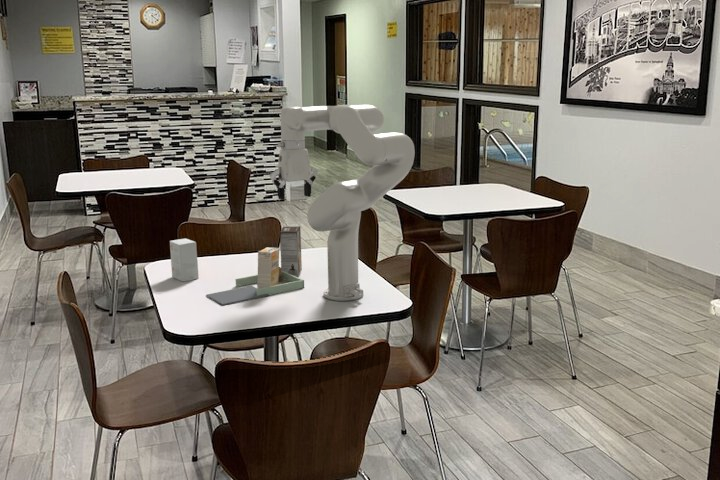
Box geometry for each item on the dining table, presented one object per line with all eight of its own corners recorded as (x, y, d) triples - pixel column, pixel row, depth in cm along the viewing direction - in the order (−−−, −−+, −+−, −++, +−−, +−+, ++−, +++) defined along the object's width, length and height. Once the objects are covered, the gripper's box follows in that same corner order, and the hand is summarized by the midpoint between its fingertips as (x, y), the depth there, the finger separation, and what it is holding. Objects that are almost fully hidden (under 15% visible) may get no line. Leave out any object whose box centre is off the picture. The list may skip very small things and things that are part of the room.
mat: (269, 295, 226) (268, 294, 226) (222, 305, 217) (222, 304, 217) (251, 287, 235) (251, 285, 235) (206, 296, 226) (206, 294, 226)
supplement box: (271, 292, 228) (271, 252, 225) (256, 291, 229) (257, 251, 226) (279, 286, 236) (280, 247, 233) (265, 285, 237) (266, 246, 234)
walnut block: (281, 282, 241) (281, 267, 240) (271, 284, 239) (270, 269, 238) (276, 279, 244) (275, 265, 243) (265, 281, 242) (265, 267, 241)
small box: (199, 278, 246) (196, 241, 243) (182, 282, 242) (179, 244, 239) (188, 273, 252) (186, 237, 249) (171, 277, 248) (168, 240, 245)
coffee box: (284, 270, 256) (282, 226, 252) (302, 269, 255) (300, 226, 252) (281, 277, 247) (279, 231, 243) (299, 277, 246) (298, 231, 243)
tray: (304, 287, 234) (303, 280, 234) (257, 297, 225) (257, 289, 224) (281, 277, 246) (280, 270, 246) (235, 286, 237) (235, 278, 236)
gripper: (274, 148, 223) (276, 202, 227) (322, 144, 232) (323, 196, 236) (263, 146, 229) (265, 198, 233) (310, 142, 238) (311, 193, 242)
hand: (294, 197), depth 234 cm, fingers open, 9 cm apart
